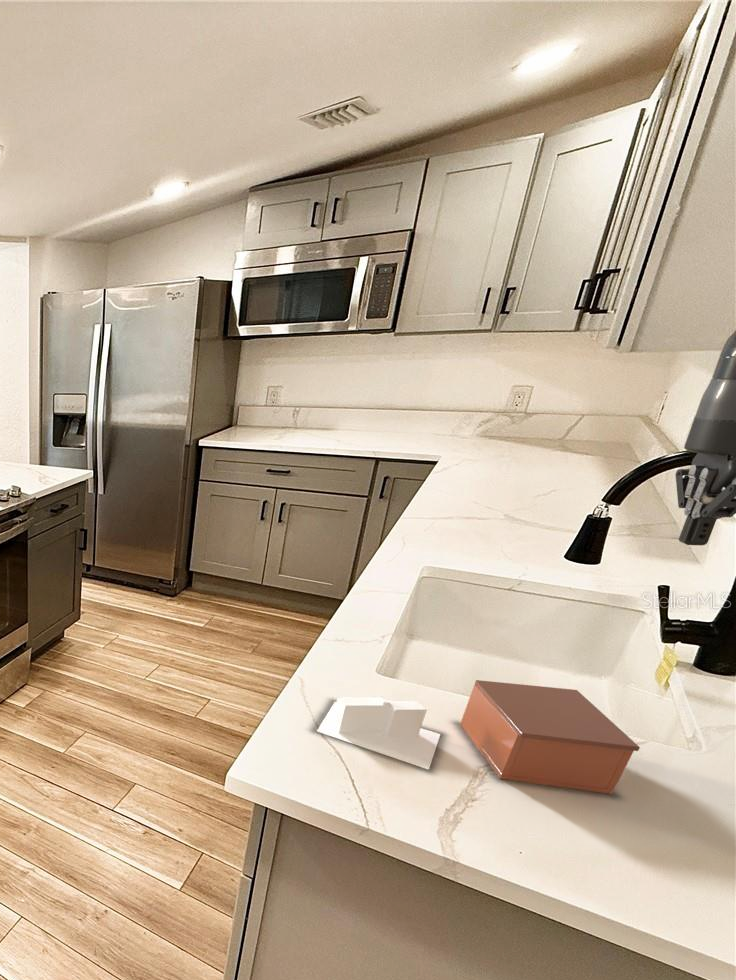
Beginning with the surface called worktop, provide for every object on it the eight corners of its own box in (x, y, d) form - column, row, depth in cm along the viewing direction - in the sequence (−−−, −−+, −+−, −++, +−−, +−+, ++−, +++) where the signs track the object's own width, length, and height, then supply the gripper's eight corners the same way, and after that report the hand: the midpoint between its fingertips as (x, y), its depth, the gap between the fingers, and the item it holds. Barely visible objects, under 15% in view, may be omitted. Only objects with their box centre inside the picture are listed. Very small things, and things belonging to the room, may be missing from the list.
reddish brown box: (611, 794, 84) (635, 748, 81) (499, 778, 88) (517, 734, 85) (556, 735, 96) (575, 693, 93) (459, 724, 100) (474, 683, 97)
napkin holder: (316, 731, 100) (323, 702, 98) (334, 701, 108) (340, 673, 105) (429, 770, 91) (440, 738, 88) (440, 733, 98) (451, 703, 96)
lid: (638, 751, 81) (640, 747, 80) (519, 737, 85) (521, 733, 84) (575, 693, 93) (577, 689, 93) (474, 683, 97) (475, 679, 96)
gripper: (825, 418, 72) (765, 559, 78) (748, 408, 83) (700, 532, 89) (732, 421, 75) (681, 556, 81) (670, 411, 86) (629, 530, 92)
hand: (691, 543), depth 85 cm, fingers closed
